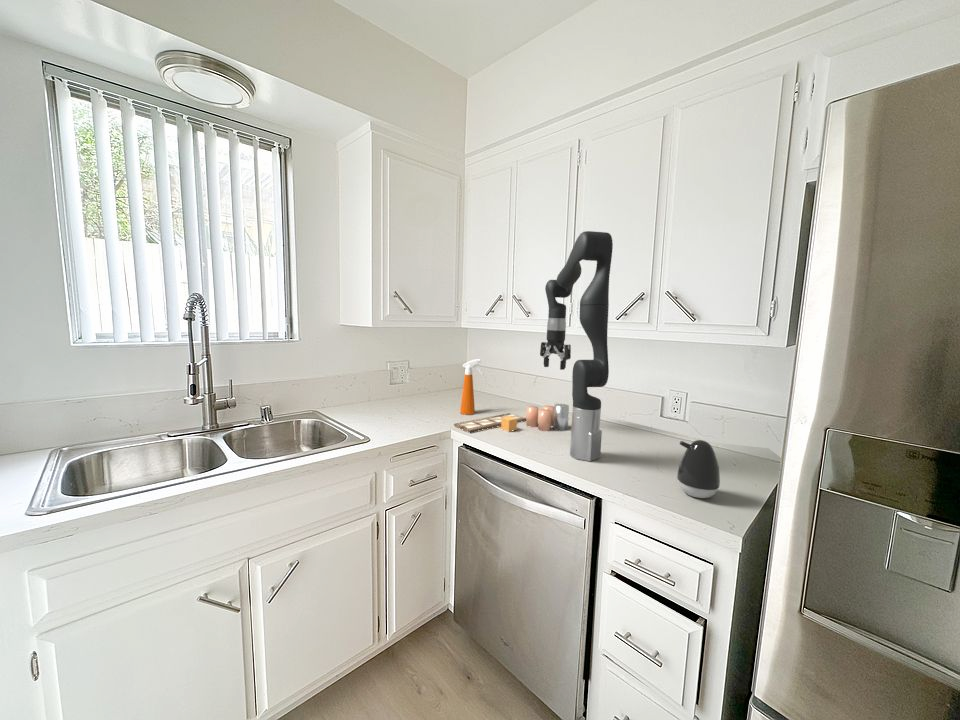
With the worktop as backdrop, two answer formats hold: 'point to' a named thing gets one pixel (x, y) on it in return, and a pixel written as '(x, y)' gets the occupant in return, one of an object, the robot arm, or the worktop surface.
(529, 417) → the tan cylinder
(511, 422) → the block
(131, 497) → the worktop surface
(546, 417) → the tan cylinder
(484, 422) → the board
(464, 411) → the spray bottle
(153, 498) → the worktop surface
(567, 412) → the grey tin
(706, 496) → the pump dispenser
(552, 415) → the tan cylinder
